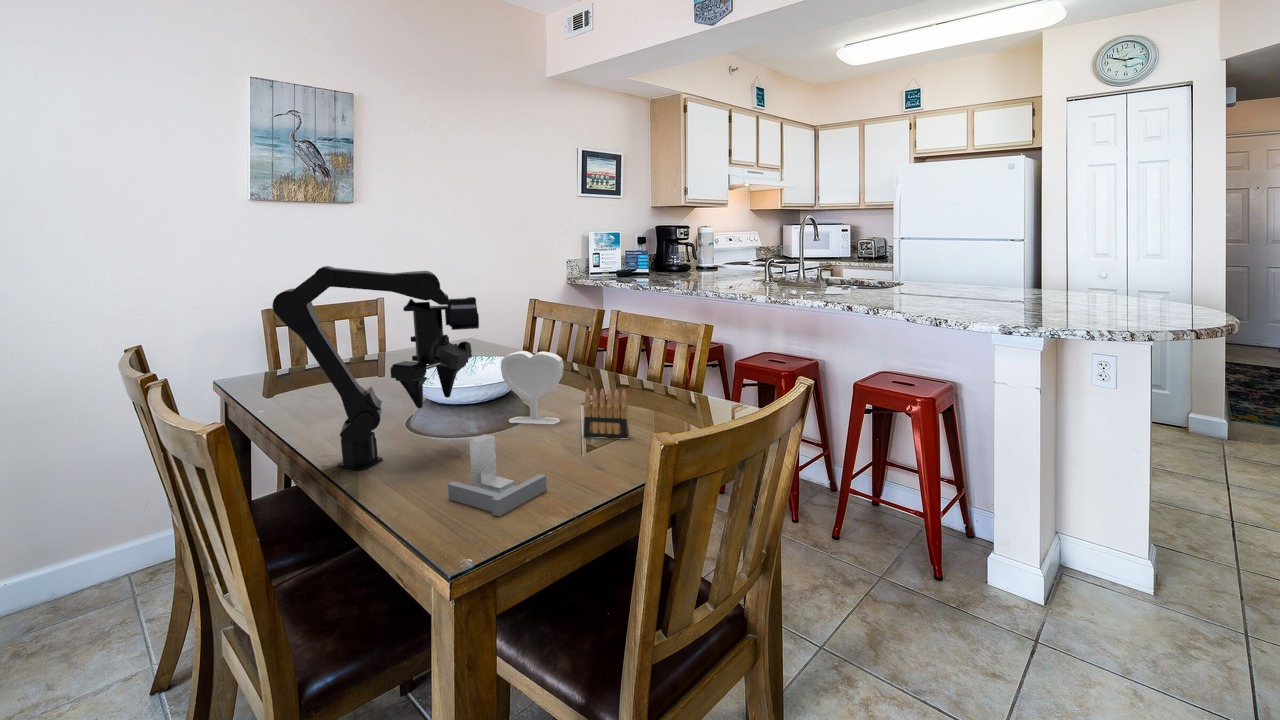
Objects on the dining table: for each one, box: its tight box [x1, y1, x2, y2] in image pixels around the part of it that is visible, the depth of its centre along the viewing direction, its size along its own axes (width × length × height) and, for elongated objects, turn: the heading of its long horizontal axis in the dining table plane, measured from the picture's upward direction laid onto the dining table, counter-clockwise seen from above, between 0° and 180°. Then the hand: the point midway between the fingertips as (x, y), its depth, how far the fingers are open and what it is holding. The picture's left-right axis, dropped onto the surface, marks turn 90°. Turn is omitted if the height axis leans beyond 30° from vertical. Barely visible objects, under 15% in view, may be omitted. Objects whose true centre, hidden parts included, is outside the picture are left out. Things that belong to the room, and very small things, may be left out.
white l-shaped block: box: [469, 434, 516, 494], centre depth 118 cm, size 7×4×10 cm, turn 60°
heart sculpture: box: [500, 350, 565, 425], centre depth 162 cm, size 16×5×18 cm, turn 83°
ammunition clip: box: [583, 387, 630, 439], centre depth 149 cm, size 11×2×12 cm, turn 81°
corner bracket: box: [447, 473, 548, 517], centre depth 117 cm, size 13×13×3 cm
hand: (434, 402), depth 137 cm, fingers open, 9 cm apart
